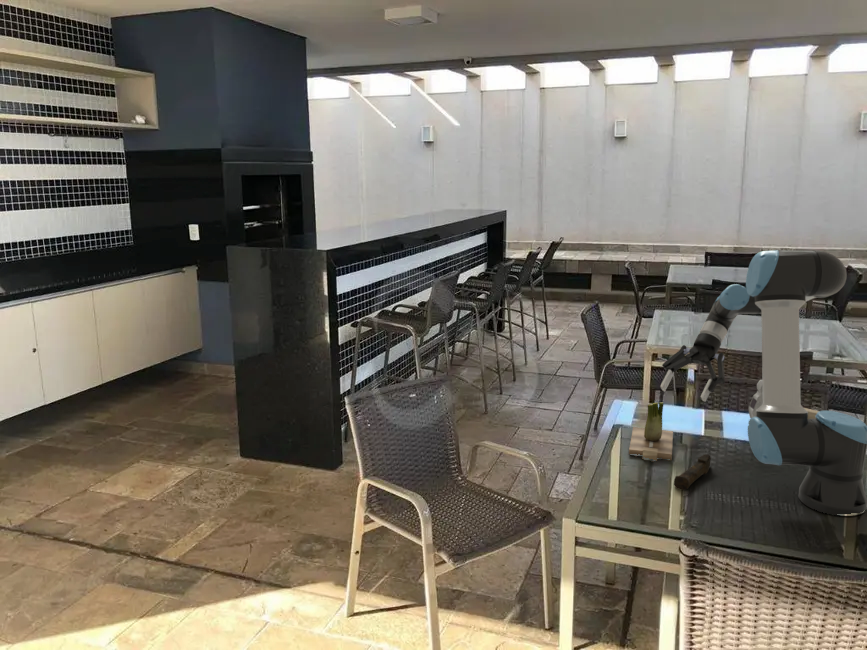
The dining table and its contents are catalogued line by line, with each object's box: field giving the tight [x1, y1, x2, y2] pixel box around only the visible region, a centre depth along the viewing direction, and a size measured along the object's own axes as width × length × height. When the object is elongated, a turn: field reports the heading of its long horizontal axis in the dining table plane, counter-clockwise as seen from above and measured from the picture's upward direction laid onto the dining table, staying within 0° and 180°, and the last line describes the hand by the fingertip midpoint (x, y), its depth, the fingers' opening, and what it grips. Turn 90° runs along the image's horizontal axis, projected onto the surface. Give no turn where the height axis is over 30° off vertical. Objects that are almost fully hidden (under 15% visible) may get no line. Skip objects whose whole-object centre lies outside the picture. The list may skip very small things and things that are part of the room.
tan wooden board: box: [628, 426, 674, 462], centre depth 213 cm, size 22×12×3 cm, turn 161°
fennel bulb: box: [644, 401, 664, 441], centre depth 212 cm, size 6×5×12 cm
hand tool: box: [673, 453, 712, 491], centre depth 192 cm, size 19×4×5 cm, turn 134°
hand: (682, 394), depth 218 cm, fingers open, 13 cm apart
